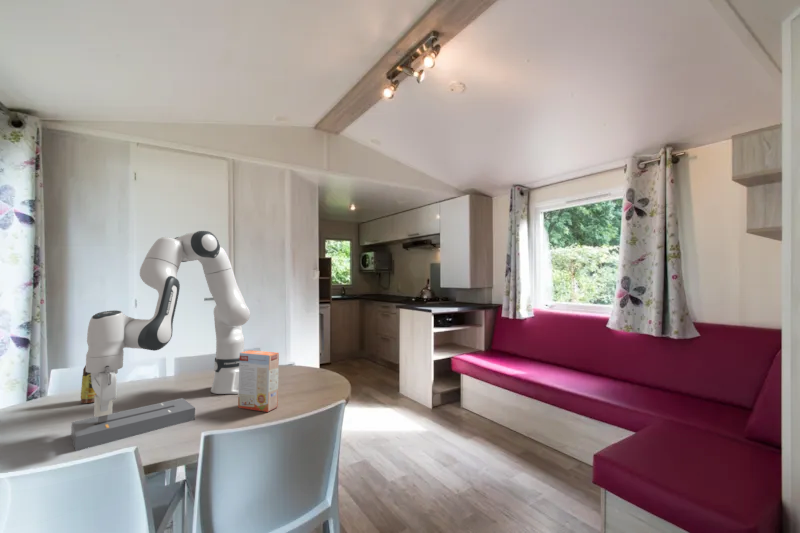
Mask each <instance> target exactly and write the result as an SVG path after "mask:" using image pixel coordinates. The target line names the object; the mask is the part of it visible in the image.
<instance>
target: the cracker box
mask: <svg viewBox="0 0 800 533" xmlns="http://www.w3.org/2000/svg"><path fill="white" fill-rule="evenodd" d="M279 358H280V352H273V351H265V350H244V352H241V353H240V358H239V392H238V394H237V395H238V396H237V397H238V398H237V408H239V409H245V410H252V411H258V412H263V413H264V412H265V413H269V412H271V411H272V410H275V409H277V408H278V405H279V404H278V402H279V400H278V399H279V366H280V365H279V360H280V359H279Z"/></svg>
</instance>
